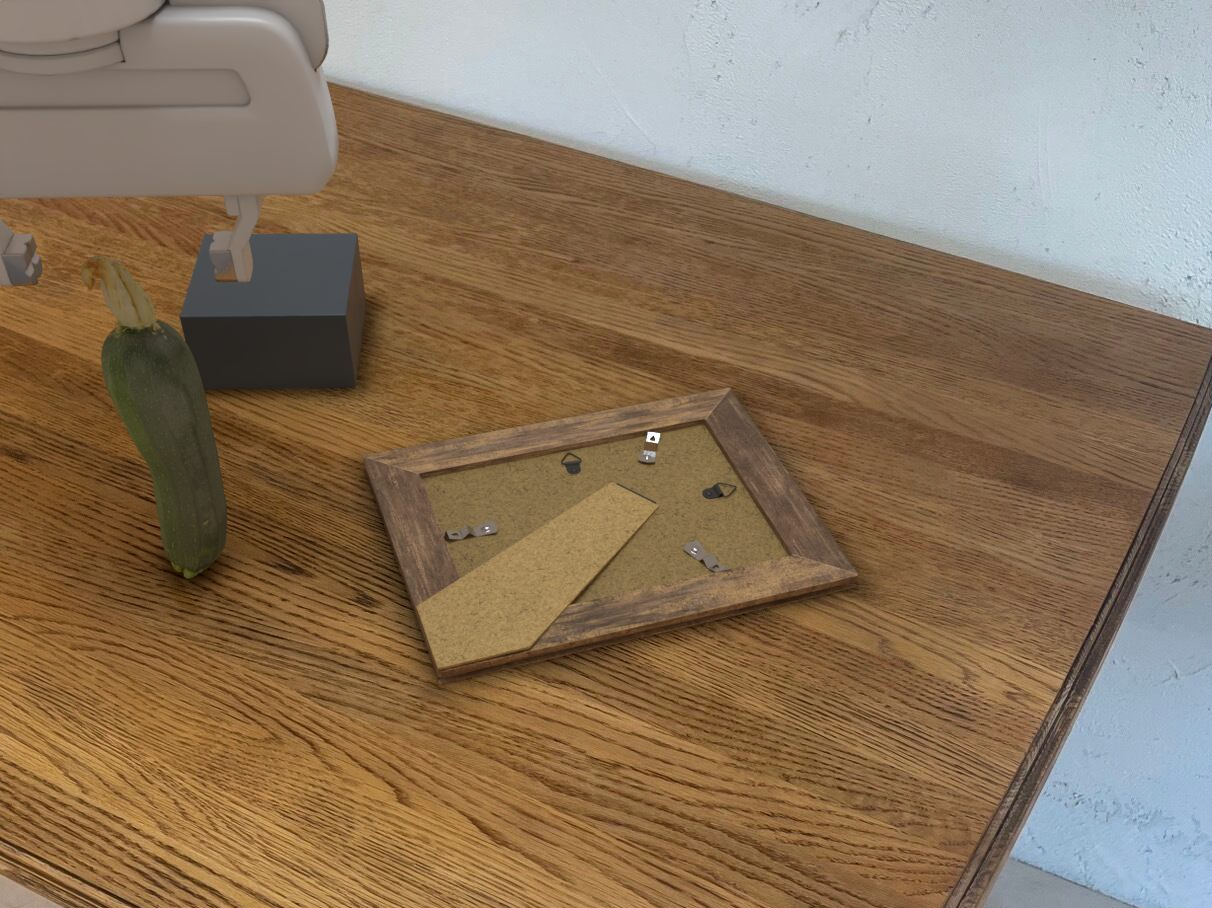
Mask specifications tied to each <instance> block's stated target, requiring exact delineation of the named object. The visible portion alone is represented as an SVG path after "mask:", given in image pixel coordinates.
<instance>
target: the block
mask: <svg viewBox="0 0 1212 908" xmlns="http://www.w3.org/2000/svg"><path fill="white" fill-rule="evenodd" d="M213 235H214V233H205V234H204V235H203V238H202V239H201V240H202V241H201V244H200V247H199V251H198V253H197V257H196V261H195V264H194V268H193V271H192V273H191V278H190V281H189V284H188V287H187V290H186V294H185V297H184V301H183V304H182V307H181V311H180V314H179V320H180V321H179V322H180V324H181V329H182V333H183V339H184V340H185V342H186V343H187V345H188V347H189V348H190V350H191V352H192V354H193V357H194V359H195V362H196V365H197V367H198V370H199V374H200V377H201V380H202V384H203V388H204V391H221V390H222V391H223V390H224V391H225V390H227V391H228V390H229V391H230V390H231V391H233V390H293V389H297V390H298V389H355V388H357V382H358V375H359V368H360V367H359V366H360V358H361V350H362V343H363V334H364V325H365V318H366V309H367V299H366V298H367V297H366V292H365V291H366V290H365V283H364V275H363V268H362V267H363V266H362V260H361V259H362V257H361V252H360V244H359V235H358V233H356V232H354V233H353V232H352V233H351V232H348V233H347V232H345V233H344V232H343V233H342V232H339V233H336V232H335V233H334V232H333V233H331V232H329V233H325V232H324V233H323V232H322V233H252V235H251V237H250V239H249V243H250V248H251V253H252V259H253V271H252V275H251V279H250V282H216V280H215V276H214V271H215V267H214V266H213V265H212V263H211V258H210V254H209V249H210V245H211V243H213V239H212V238H213Z"/></svg>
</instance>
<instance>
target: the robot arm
mask: <svg viewBox="0 0 1212 908" xmlns="http://www.w3.org/2000/svg"><path fill="white" fill-rule="evenodd" d="M329 47H330V35H329V29H328V21H327V12H326V8H325V3H324V0H0V200H11V199H12V200H14V199H15V200H16V199H17V200H18V199H81V198H82V199H83V198H85V199H88V198H91V199H93V198H96V199H97V198H152V197H153V198H160V197H163V198H172V197H223V202H224V206H225V211H226V215H228V216H229V217H236V220H235V222H234V224H233V227H232V230H215V231H214V232H213V234H214V235H213V238H212V239H213V243H211V245H210V249H209V254H210V258H211V263H212V265H213V266H214V267H215V271H214V276H215V280H216V282H250V279H251V275H252V271H253V259H252V253H251V248H250V243H249V239H250V237H251V235H252V234H253V233H254V230H255V228H256V226H257V223H258V222H259V219H260V216H261V212H262V208H263V204H264V199H265V196H310V195H317V194H319V193H321V192H322V190H323V189H324V188H325V187H326V186H327V185H328V183H329V182H330V180H331V179H332V177H333V176H334V174H335V172H336V169H337V166H338V161H339V151H340V140H339V133H338V126H337V122H336V121H337V120H336V116H335V110H334V107H333V102H332V98H331V95H330V89H329V87H328V83H327V79H326V75H325V72H324V69H323V68H324V67H323V65H322V64H323V63H324V61H325V60H326V57H327V56H328V54H329V53H328V52H329ZM37 248H38V246H37V243H36V240H35V237H34V234H33V233H14V231H13V230H12V229H11V228H10V227H9V226H8V225H7V223H6V222H4V220H3V219H2V218H1V217H0V286H1V287H29V286H30V287H31V286H37V285H38V283H39V278H41V277H42V274H43V262H42V258H41V255H39V254H38V253H37V252H36V250H37Z"/></svg>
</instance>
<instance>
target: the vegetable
mask: <svg viewBox="0 0 1212 908" xmlns="http://www.w3.org/2000/svg"><path fill="white" fill-rule="evenodd" d="M94 275H95V277H94ZM79 277H80V278H81V281H82V282H83V284H84V285H85V286H87V290H88V291H89V292H90V291H93V289H94V285H95V284H96V281H97V280H96V278H97V279H98V278H99V279H100V281H99V285H100V290H101V293H102V295H103V298H104V300H105V303H106V306H107V309H108V310H109V311H110V312H111V314H113V316H114V317H115V319H116V320H117V321H115V322H114V326H115V327H114V328H113V329H112V331H110V332H109V333H108V335H107V336H106V338H105V339H104V341H103V344H102V347H101V354H100V361H101V363H100V364H101V371H102V377H103V379H104V382H105V387H106V390H107V392H108V394H109V397H110V398H111V401H112V403H113V405H114V407H115V409H116V411H117V413H118V414H119V416H120V419H121V420H122V422H123V425H124V426H125V428H126V430H127V433H128V434H129V436H130V438H131V440H132V442H133V444H134V446H135V448H136V449H137V451H138V452H139V454H140V455H141V457H142V459H143V460H144V462H145V463H146V464H147V468H148V471H149V473H150V477H151V480H152V486H153V487H152V488H153V495H154V500H155V507H156V513H157V517H158V523H159V528H160V540H161V543H162V547H163V550H164V552H165V555H166V557H167V559H168V561H169V562H170V564H171V566H172V567H173V570H174V571H176V572H177V573H182V574H183V577H184V578H185V579H193V578H195V577H196V576H197V575H198V574H201V573H203V571H204V570H206V569H208V568H210V567H211V565H212V564H213V563H215V561H216V560H217V559H218V558H219V557H220V555H221V554H222V552H223V551H224V549H225V546H226V542H227V529H228V528H227V527H228V507H227V506H228V505H227V499H226V498H227V497H226V495H225V488H224V482H223V477H222V471H221V465H220V458H219V453H218V447H217V444H216V439H215V435H214V434H215V433H214V431H213V424H212V420H211V414H210V410H209V405H208V400H207V397H206V391H205V390H204V388H203V384H202V380H201V377H200V374H199V370H198V367H197V365H196V362H195V359H194V357H193V354H192V352H191V350H190V348H189V347H188V345H187V343H186V342H185V338H184V336H182V335H181V334H180V333H179V331H178V330H176V329H175V327H172V325H170V324H169V323H167V322H165V321H162V320H160V319H158V318H157V317H156V315H155V305H154V302H153V301H152V299H151V297H150V296H149V295H148V293H147V292H146V291H145V290H144V289H143V287H142V286H141V285H140V284H139V283H138V282H137V281H136V280H135V279H134V278H133V276H132V272H131V271H130V270H128V269H126V267H125V266H123V265H122V260H119V259H116V258H114V259H112V258H110V257H109V258H108V257H106V256H104V255H100V254H98V255H96V254H95V255H94V256H91V257H89V258H88V259H86V260H85V261H83V263H82V266H81V268H80V274H79Z"/></svg>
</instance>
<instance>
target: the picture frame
mask: <svg viewBox="0 0 1212 908" xmlns="http://www.w3.org/2000/svg"><path fill="white" fill-rule="evenodd" d="M362 459H363V464H364V472H365V474H366V478H367V480H368V484H369V485H370V489H371V491H372V495H373V498H374V500H375V503H376V506H377V509H378V512H379V515H380V518H381V520H382V523H383V526H384V529H385V532H386V535H387V538H388V541H389V543H390V547H391V549H392V553H393V555H394V559H395V561H396V564H397V567H398V569H399V573H400V576H401V578H402V580H403V584H404V587H405V589H406V592H407V595H408V598H409V601H410V604H411V607H412V610H413V613H414V615H415V618H416V622H417V624H418V627H419V630H420V633H421V636H422V639H423V641H424V645H425V648H426V651H427V653H428V656H429V659H430V662H431V665H432V668H433V670H434V673H435V676H436V680H437V682H438V685H446V684H451V683H454V682H459V681H463V680H468V679H472V678H476V677H480V676H484V675H485V676H486V675H489V674H493V673H497V672H501V671H502V672H503V671H505V670H506V671H507V670H510V669H514V668H515V669H516V668H519V667H524V666H527V665H531V664H535V663H541V662H544V661H548V660H552V659H557V658H562V657H566V656H570V655H573V654H578V653H582V652H587V651H591V650H595V649H600V648H604V647H608V646H614V645H616V644H620V643H625V642H629V641H634V640H639V639H642V638H647V637H650V636H655V635H660V634H663V633H664V634H665V633H668V632H673V631H676V630H680V629H685V628H689V627H694V626H698V625H702V624H706V623H710V622H716V621H719V620H723V619H727V618H733V617H737V616H740V615H745V614H749V613H753V612H757V611H762V610H767V609H770V608H775V607H780V606H783V605H787V604H792V603H795V602H796V603H797V602H800V601H804V600H809V599H813V598H817V597H821V596H825V595H829V594H834V593H839V592H842V591H847V590H852V589H855V588H857V584H856V583H857V582H858V579H859V572H857V570H856V569H855V567H854V566H853V564H852V563H851V562H850V560H849V558H848V557H847V556H846V554H845V553H844V551H843V550H842V548H841V547H840V545H839V544H838V542H837V541H836V539H835V538H834V536H833V535H832V534H831V532H830V531H829V529H828V528H827V526H826V525H825V524H824V522H823V521H822V519H821V517H820V516H819V515H818V514H817V512H816V510H815V509H814V508H813V506H812V504H811V503H810V501H809V500H808V499H807V497H806V496H805V495H804V493H803V491H802V490H801V489H800V487H799V486H798V484H797V483H796V482H795V480H794V479H793V477H792V475H791V474H790V472H789V471H788V470H787V468H786V467H785V465H784V464H783V463H782V461H781V459H780V458H779V457H778V455H777V454H776V453H775V450H774V449H773V448H772V446H771V445H770V444H769V442H768V441H767V439H766V437H765V436H764V435H763V433H762V431H760V429H759V428H758V426H757V425H756V423H755V421H754V420H753V419H752V417H751V416H750V415H749V413H748V411H747V410H746V409H745V407H744V406H743V404H742V403H741V401H740V400H739V398H738V397H737V396H736V394H735V393H734V391H733V390H732V388H731V387H725V388H724V387H723V388H719V389H713V390H708V391H703V392H698V393H692V394H686V395H681V396H676V397H671V398H665V399H659V400H654V401H649V402H644V403H638V404H637V403H636V404H633V405H628V406H621V407H617V408H611V409H606V410H600V411H595V412H589V413H585V414H579V415H574V416H568V417H563V418H557V419H552V420H547V421H541V422H536V423H530V424H525V425H520V426H514V427H509V428H508V427H507V428H503V429H498V430H493V431H487V432H482V433H478V434H477V433H476V434H472V435H471V434H470V435H466V436H460V437H455V438H449V439H444V440H439V441H438V440H437V441H434V442H428V443H422V444H418V445H413V446H412V445H411V446H405V447H400V448H397V449H390V450H385V451H384V450H383V451H380V452H374V453H369V454H368V453H367V454H364V455H362Z"/></svg>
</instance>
